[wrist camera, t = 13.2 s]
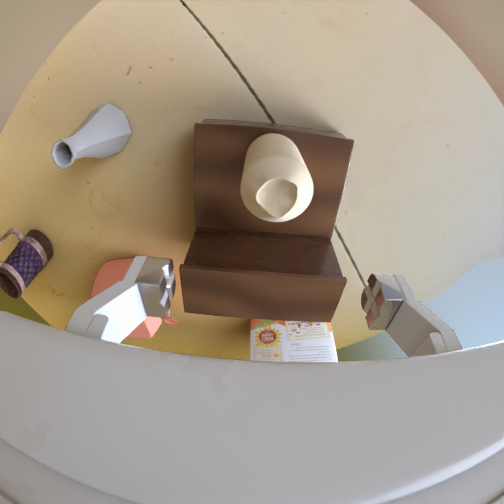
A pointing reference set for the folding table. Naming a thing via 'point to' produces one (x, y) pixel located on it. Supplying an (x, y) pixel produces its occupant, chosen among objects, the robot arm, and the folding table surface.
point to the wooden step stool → (263, 230)
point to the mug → (24, 261)
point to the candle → (275, 179)
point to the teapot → (116, 272)
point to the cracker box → (291, 341)
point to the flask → (94, 137)
